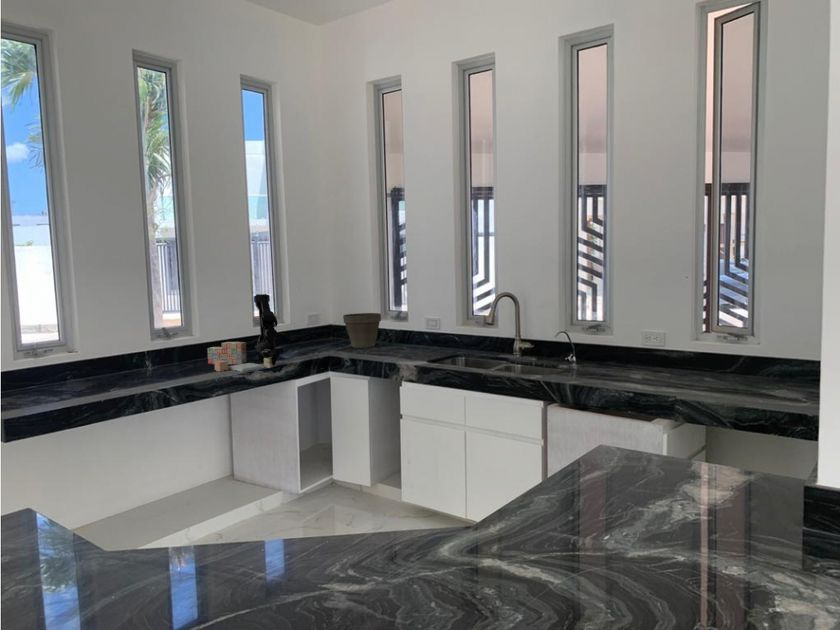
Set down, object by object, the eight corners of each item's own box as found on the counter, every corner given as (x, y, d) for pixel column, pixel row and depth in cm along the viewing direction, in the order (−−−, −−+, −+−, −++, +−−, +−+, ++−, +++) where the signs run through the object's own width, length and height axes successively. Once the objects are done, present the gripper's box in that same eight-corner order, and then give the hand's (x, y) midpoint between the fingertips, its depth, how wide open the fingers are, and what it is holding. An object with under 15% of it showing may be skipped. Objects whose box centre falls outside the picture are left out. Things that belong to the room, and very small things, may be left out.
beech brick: (271, 365, 372) (271, 356, 372) (277, 366, 369) (276, 357, 368) (264, 367, 368) (263, 358, 368) (269, 367, 365) (269, 358, 365)
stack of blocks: (207, 364, 385) (206, 343, 384) (213, 362, 391) (212, 341, 390) (242, 364, 380) (241, 343, 379) (247, 362, 387) (246, 341, 385)
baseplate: (249, 365, 375) (249, 362, 375) (264, 367, 366) (264, 365, 366) (227, 369, 365) (227, 366, 364) (242, 371, 355) (242, 368, 355)
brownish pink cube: (222, 369, 365) (222, 360, 364) (228, 370, 362) (227, 361, 361) (214, 370, 361) (214, 361, 361) (220, 371, 358) (219, 362, 357)
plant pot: (344, 345, 450) (343, 313, 448) (381, 343, 453) (379, 311, 451) (344, 350, 425) (343, 316, 423) (383, 348, 428) (381, 315, 426)
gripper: (246, 337, 367) (248, 365, 369) (267, 339, 355) (268, 368, 356) (263, 335, 376) (264, 362, 377) (284, 337, 363) (285, 365, 365)
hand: (270, 364), depth 369 cm, fingers closed on beech brick, 5 cm apart
